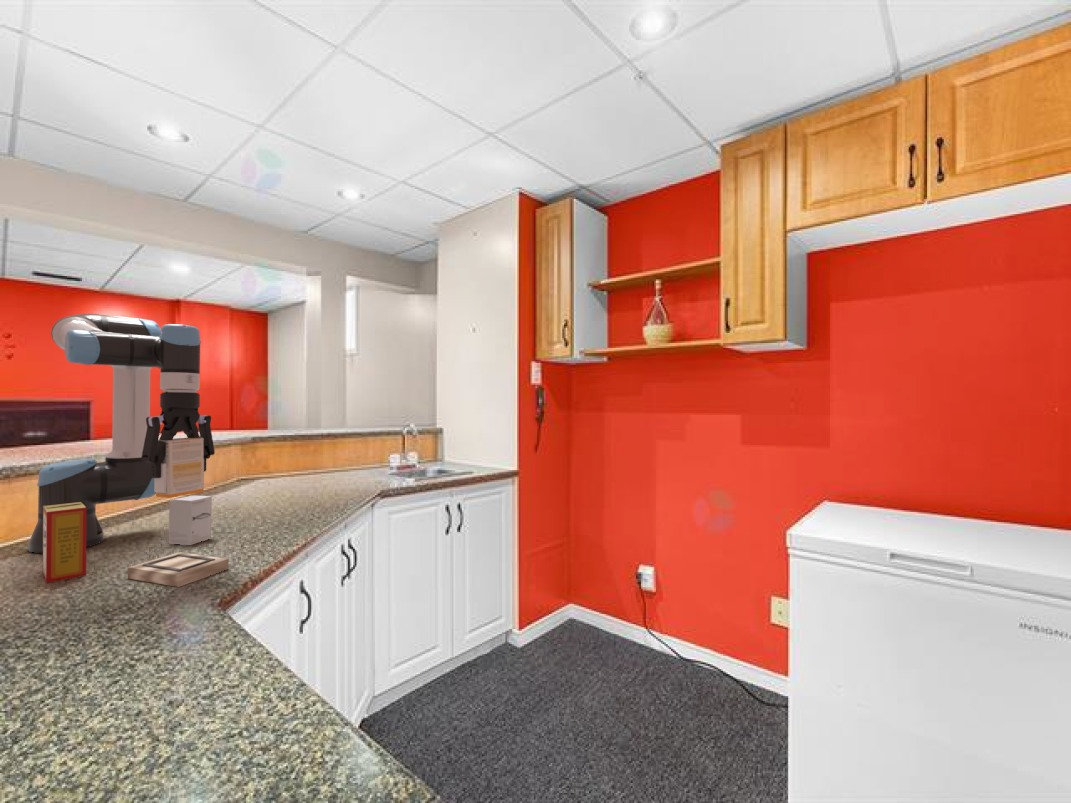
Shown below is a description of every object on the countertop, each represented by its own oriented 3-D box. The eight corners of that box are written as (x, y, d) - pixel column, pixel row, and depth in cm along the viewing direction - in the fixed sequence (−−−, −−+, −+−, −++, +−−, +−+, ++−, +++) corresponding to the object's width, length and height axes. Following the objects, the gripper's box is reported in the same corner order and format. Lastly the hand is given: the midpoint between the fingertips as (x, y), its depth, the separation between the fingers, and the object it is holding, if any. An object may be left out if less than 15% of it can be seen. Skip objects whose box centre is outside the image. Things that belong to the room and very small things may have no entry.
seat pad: (127, 578, 113) (127, 566, 113) (180, 562, 124) (180, 550, 124) (178, 587, 108) (178, 574, 108) (228, 569, 119) (228, 557, 119)
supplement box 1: (190, 490, 120) (190, 436, 120) (204, 492, 119) (204, 437, 119) (154, 497, 113) (154, 439, 113) (169, 498, 111) (169, 440, 111)
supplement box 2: (190, 546, 138) (190, 500, 138) (167, 544, 139) (168, 499, 139) (212, 539, 145) (212, 495, 145) (191, 537, 146) (191, 494, 146)
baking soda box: (86, 575, 115) (86, 506, 115) (46, 582, 110) (46, 510, 110) (80, 566, 121) (80, 500, 121) (42, 572, 116) (43, 504, 116)
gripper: (144, 390, 105) (143, 498, 105) (232, 392, 125) (232, 482, 125) (119, 390, 107) (119, 496, 107) (210, 392, 127) (210, 481, 127)
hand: (179, 488), depth 116 cm, fingers closed on supplement box 1, 8 cm apart
